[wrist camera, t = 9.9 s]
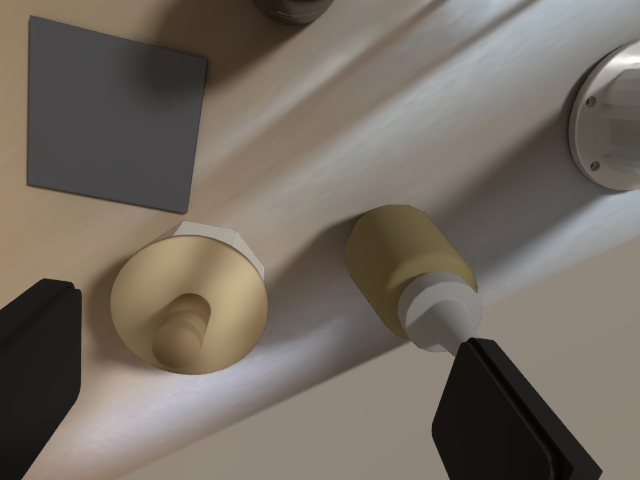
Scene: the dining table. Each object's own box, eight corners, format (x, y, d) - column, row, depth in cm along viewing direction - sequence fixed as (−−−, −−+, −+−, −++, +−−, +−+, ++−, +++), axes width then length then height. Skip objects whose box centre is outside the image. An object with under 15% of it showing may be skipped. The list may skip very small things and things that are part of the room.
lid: (280, 249, 32) (282, 282, 26) (253, 375, 35) (250, 428, 29) (121, 221, 30) (85, 250, 24) (109, 357, 33) (76, 410, 27)
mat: (208, 59, 31) (207, 59, 30) (187, 212, 34) (186, 213, 34) (33, 16, 29) (30, 15, 28) (30, 182, 32) (27, 183, 32)
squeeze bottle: (441, 248, 38) (574, 371, 21) (366, 294, 39) (436, 447, 22) (400, 175, 35) (516, 248, 18) (320, 225, 36) (361, 340, 19)
